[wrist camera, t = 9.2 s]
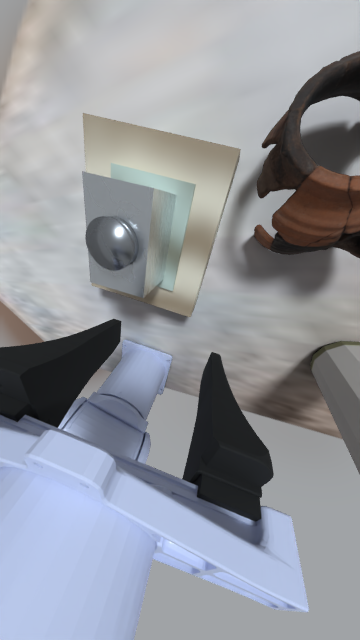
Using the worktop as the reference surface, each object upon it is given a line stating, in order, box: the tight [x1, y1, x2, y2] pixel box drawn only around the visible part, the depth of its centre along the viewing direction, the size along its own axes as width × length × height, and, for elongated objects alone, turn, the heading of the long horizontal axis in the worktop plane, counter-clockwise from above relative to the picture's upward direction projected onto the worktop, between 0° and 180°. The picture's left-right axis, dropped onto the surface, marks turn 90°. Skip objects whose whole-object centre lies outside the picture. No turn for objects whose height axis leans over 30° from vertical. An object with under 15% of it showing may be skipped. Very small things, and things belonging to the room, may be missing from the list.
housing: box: [82, 171, 177, 298], centre depth 14 cm, size 7×4×6 cm, turn 168°
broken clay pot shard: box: [254, 51, 360, 258], centre depth 13 cm, size 12×10×8 cm
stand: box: [83, 113, 240, 317], centre depth 18 cm, size 14×12×3 cm
